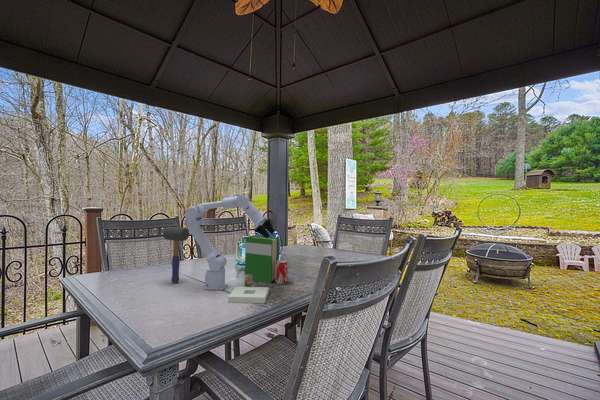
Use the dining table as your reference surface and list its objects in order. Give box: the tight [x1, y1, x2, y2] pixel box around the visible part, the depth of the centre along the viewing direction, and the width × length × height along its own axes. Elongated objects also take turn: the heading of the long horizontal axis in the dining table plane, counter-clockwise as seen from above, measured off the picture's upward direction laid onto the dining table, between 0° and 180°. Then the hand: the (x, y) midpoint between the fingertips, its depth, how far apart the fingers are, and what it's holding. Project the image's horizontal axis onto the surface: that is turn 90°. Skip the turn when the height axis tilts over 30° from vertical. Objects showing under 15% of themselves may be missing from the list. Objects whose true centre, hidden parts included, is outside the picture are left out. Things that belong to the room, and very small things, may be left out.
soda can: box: [274, 259, 289, 285], centre depth 151 cm, size 7×7×12 cm
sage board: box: [227, 286, 270, 304], centre depth 128 cm, size 16×14×2 cm
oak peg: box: [244, 274, 253, 287], centre depth 140 cm, size 4×4×7 cm
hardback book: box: [244, 235, 280, 285], centre depth 157 cm, size 18×7×24 cm, turn 63°
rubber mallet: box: [162, 226, 190, 284], centre depth 149 cm, size 12×8×30 cm, turn 72°
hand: (270, 235), depth 141 cm, fingers open, 7 cm apart
